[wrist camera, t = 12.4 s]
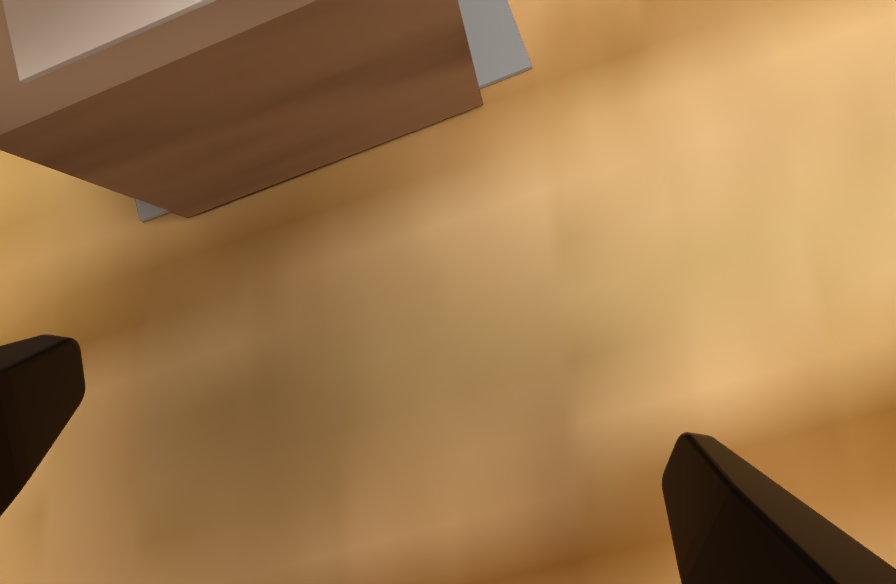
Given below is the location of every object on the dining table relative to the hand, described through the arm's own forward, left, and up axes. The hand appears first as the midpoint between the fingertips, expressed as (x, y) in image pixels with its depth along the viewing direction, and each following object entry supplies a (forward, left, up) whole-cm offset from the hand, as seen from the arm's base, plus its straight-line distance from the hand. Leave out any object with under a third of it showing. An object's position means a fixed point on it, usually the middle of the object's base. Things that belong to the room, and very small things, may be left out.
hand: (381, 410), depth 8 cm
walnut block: (+5, +12, -3) cm, 14 cm away
